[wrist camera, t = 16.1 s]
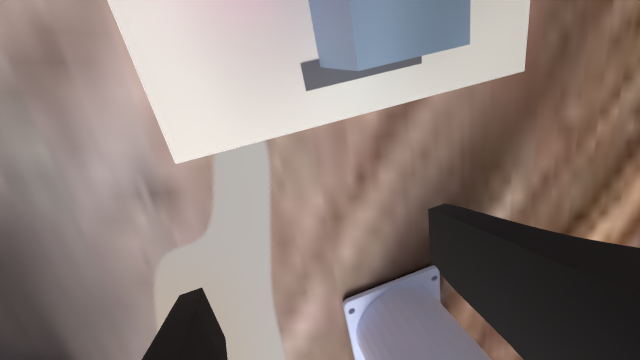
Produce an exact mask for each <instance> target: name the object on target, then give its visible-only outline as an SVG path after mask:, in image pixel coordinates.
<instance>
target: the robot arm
mask: <svg viewBox="0 0 640 360" xmlns="http://www.w3.org/2000/svg"><path fill="white" fill-rule="evenodd" d="M428 214H429V235H430V256H431V261H432V262H433V263H434V265H435V266H434V265H433V266H430V267H427V268H424V269H422V270H419V271H417V272H414V273H411V274H409V275H406V276H404V277H401V278H398V279H396V280H393V281H391V282H388V283H385V284H383V285H380V286H378V287H375V288H373V289H370V290H367V291H365V292H362V293H360V294H357V295H354V296H352V297H349V298H347V299H345V301H344V302H343V309H344V313H345V318H346V323H347V327H348V332H349V337H350V341H351V346H352V351H353V355H354V360H491V359H490V357H489V356H488V355H487V354H486V353H485V352H484V351H483V350H482V348H481V347H480V346H479V345H478V344H477V343H476V342H475V341H474V340H473V338H472V337H471V336H470V335H469V334H468V333H467V332H466V331H465V329H464V328H463V327H462V326H461V325H460V324H459V323H458V322H457V321H456V319H455V318H454V317H453V316H452V315H451V314H450V313H449V312H448V310H447V309H446V308H445V307H444V306H443V305H442V304H441V302H440V273H441V274H442V275H443V276H444V278H445V279H446V280H447V281H448V283H449V284H450V285H451V286H452V287H453V288H454V289H455V290H456V291H457V292H458V293H459V294H460V295H461V296H462V297H463V298H464V299H465V300H466V301H467V302H468V303H469V304H470V305H471V306H472V307H473V308H474V309H475V310H476V311H477V312H478V313H479V314H480V315H481V316H482V317H483V318H484V319H485V320H486V321H487V322H488V323H489V324H490V325H491V326H492V327H493V328H494V329H495V330H496V331H497V332H498V333H499V334H500V335H501V336H502V337H503V338H504V339H505V340H506V341H507V342H508V343H509V344H510V345H511V346H512V347H513V348H514V350H515V351H516V352H517V353H518V354H519V355H520V356H521V357H522V358H523V359H524V360H640V248H636V247H630V246H623V245H617V244H612V243H606V242H600V241H595V240H589V239H584V238H579V237H574V236H569V235H565V234H561V233H556V232H552V231H548V230H543V229H539V228H535V227H531V226H527V225H524V224H520V223H516V222H512V221H509V220H505V219H501V218H498V217H494V216H491V215H487V214H484V213H480V212H476V211H473V210H469V209H465V208H462V207H458V206H453V205H449V204H442V205H439V206H437V207H434V208H431V209H428ZM439 271H440V272H439ZM350 309H351V310H350ZM142 360H227V350H226V341H225V336H224V334H223V332H222V330H221V328H220V326H219V323H218V321H217V319H216V317H215V315H214V312H213V310H212V308H211V306H210V304H209V302H208V299H207V297H206V295H205V293H204V291H203V289H202V288H199V289H196V290H194V291H191V292H188V293H185V294H182V295H180V296H179V297H178V299H177V301H176V302H175V304H174V306H173V307H172V309H171V311H170V312H169V314H168V316H167V318H166V319H165V321H164V323H163V325H162V326H161V328H160V330H159V331H158V333H157V335H156V337H155V338H154V340H153V342H152V343H151V345H150V347H149V348H148V350H147V352H146V353H145V355H144V357H143V358H142Z"/></svg>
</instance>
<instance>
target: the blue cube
mask: <svg viewBox="0 0 640 360" xmlns="http://www.w3.org/2000/svg"><path fill="white" fill-rule="evenodd" d="M308 2H309V7H310V13H311V18H312V24H313V29H314V35H315V40H316V46H317V51H318V57H319V62H320V67H322V68H332V69H341V70H351V71H361V70H365V69H369V68H374V67H378V66H382V65H386V64H390V63H394V62H399V61H403V60H407V59H411V58H415V57H419V56H423V55H428V54H432V53H436V52H440V51H444V50H448V49H453V48H457V47H461V46H465V45H469V44H470V4H471V0H308Z"/></svg>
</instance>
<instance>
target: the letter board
mask: <svg viewBox="0 0 640 360" xmlns="http://www.w3.org/2000/svg"><path fill="white" fill-rule="evenodd" d="M107 1H108V3H109V6H110V8H111V10H112V13H113V15H114V18H115V20H116V22H117V25H118V27H119V30H120V32H121V34H122V37H123V39H124V42H125V44H126V46H127V49H128V51H129V54H130V56H131V58H132V61H133V63H134V66H135V68H136V70H137V73H138V75H139V78H140V80H141V82H142V85H143V87H144V90H145V92H146V94H147V97H148V99H149V102H150V104H151V106H152V109H153V111H154V114H155V116H156V118H157V121H158V123H159V126H160V128H161V130H162V133H163V135H164V138H165V140H166V142H167V145H168V147H169V150H170V152H171V154H172V157H173V159H174V162H175V164H178V163H181V162H185V161H189V160H193V159H196V158H200V157H204V156H208V155H211V154H215V153H219V152H223V151H226V150H230V149H234V148H238V147H241V146H245V145H249V144H253V143H256V142H260V141H264V140H268V139H271V138H275V137H279V136H283V135H286V134H290V133H294V132H298V131H301V130H305V129H309V128H313V127H316V126H320V125H324V124H328V123H331V122H335V121H339V120H343V119H346V118H350V117H354V116H358V115H361V114H365V113H369V112H373V111H376V110H380V109H384V108H388V107H391V106H395V105H399V104H403V103H406V102H410V101H414V100H418V99H421V98H425V97H429V96H433V95H436V94H440V93H444V92H448V91H451V90H455V89H459V88H463V87H466V86H470V85H474V84H478V83H481V82H485V81H489V80H493V79H496V78H500V77H504V76H508V75H511V74H515V73H519V72H523V71H524V69H525V57H526V46H527V34H528V22H529V11H530V0H471V4H470V44H469V45H465V46H461V47H457V48H453V49H448V50H444V51H440V52H436V53H432V54H428V55H423V56H419V57H415V58H411V59H407V60H403V61H399V62H394V63H390V64H386V65H382V66H378V67H374V68H369V69H365V70H361V71H351V70H341V69H332V68H322V67H320V62H319V57H318V51H317V46H316V40H315V35H314V29H313V24H312V18H311V13H310V7H309V2H308V0H107Z"/></svg>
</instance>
